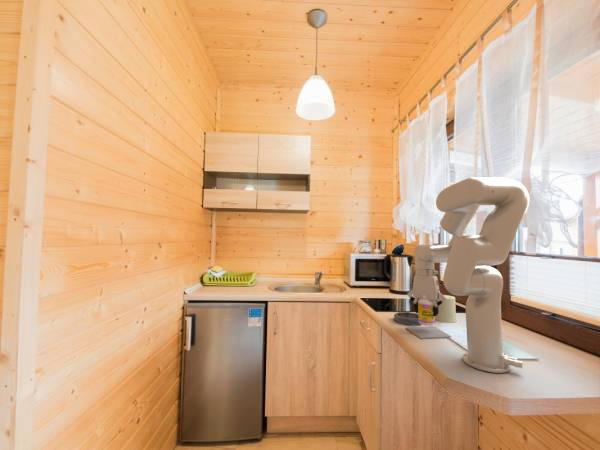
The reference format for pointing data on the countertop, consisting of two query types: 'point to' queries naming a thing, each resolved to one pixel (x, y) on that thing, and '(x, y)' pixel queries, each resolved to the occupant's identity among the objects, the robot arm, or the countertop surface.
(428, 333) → the mat
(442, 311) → the can
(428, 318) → the supplement bottle
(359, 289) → the countertop surface
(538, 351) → the countertop surface
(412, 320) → the collar
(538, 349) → the countertop surface
